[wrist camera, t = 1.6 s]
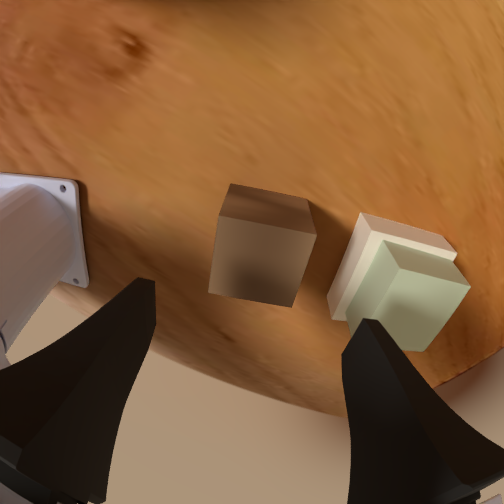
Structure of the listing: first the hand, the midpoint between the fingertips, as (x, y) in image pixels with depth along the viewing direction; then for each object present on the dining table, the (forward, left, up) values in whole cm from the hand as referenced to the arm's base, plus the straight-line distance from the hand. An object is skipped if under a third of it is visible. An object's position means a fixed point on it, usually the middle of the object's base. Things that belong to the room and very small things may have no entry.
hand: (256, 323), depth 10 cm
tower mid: (+8, -1, -5) cm, 10 cm away
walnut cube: (0, 0, -8) cm, 8 cm away
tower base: (+8, -1, -8) cm, 11 cm away
